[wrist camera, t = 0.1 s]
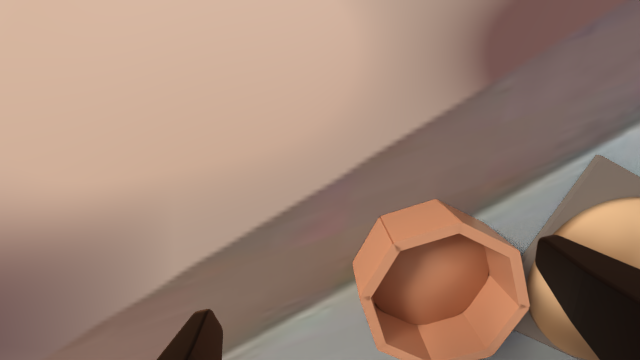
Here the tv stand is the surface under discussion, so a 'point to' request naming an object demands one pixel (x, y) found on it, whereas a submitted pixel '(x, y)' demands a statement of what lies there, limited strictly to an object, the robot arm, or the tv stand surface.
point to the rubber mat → (589, 190)
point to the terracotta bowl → (439, 284)
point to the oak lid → (600, 235)
